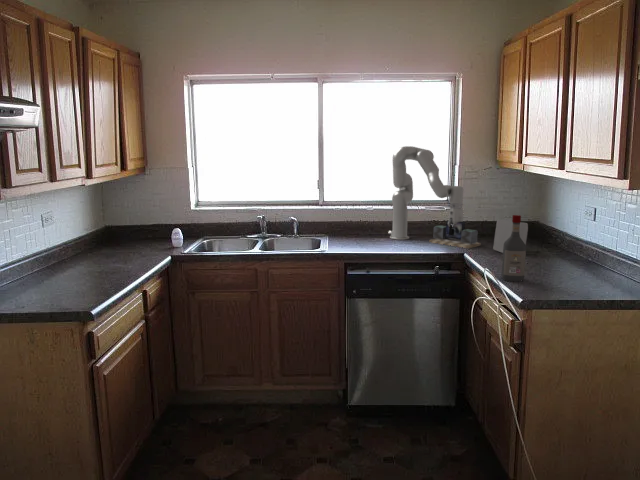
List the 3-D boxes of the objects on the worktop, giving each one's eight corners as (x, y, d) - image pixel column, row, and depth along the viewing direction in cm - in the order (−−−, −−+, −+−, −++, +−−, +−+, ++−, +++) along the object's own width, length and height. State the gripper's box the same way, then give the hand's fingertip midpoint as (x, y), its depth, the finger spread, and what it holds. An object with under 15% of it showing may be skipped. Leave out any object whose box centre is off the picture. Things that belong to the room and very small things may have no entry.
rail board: (429, 242, 347) (429, 226, 345) (441, 239, 357) (442, 224, 355) (468, 248, 327) (469, 232, 326) (480, 245, 337) (481, 229, 335)
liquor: (524, 282, 249) (529, 217, 244) (503, 281, 251) (508, 216, 245) (520, 277, 258) (525, 214, 253) (500, 276, 260) (504, 214, 254)
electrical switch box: (528, 255, 318) (533, 221, 317) (516, 255, 308) (521, 220, 307) (505, 251, 329) (509, 218, 327) (492, 251, 319) (497, 217, 317)
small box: (444, 237, 341) (445, 221, 339) (448, 236, 347) (449, 220, 345) (461, 239, 336) (462, 222, 334) (464, 238, 341) (465, 221, 339)
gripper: (453, 207, 329) (452, 236, 332) (468, 205, 341) (467, 233, 344) (443, 206, 334) (441, 235, 338) (458, 204, 346) (456, 232, 350)
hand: (454, 234), depth 341 cm, fingers closed on small box, 7 cm apart
